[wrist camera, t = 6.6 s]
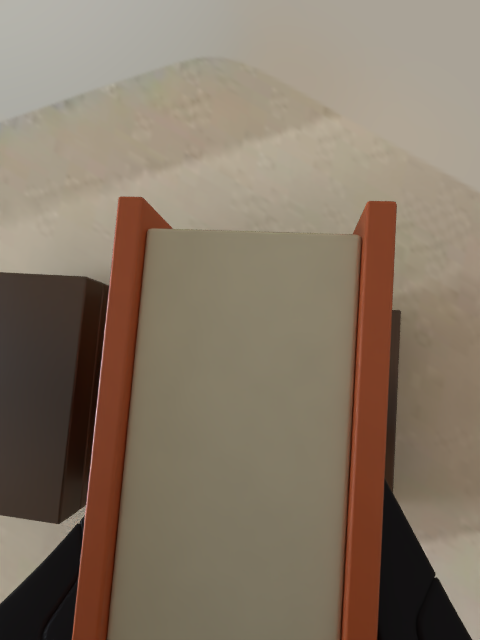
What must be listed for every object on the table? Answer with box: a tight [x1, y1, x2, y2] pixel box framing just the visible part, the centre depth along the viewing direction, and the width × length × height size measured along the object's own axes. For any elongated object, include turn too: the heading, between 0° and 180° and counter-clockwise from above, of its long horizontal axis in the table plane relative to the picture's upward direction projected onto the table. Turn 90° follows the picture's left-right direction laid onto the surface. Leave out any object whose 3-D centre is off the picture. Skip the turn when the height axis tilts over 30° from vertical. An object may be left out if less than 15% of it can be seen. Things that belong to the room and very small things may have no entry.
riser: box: [0, 272, 401, 524], centre depth 15 cm, size 8×18×6 cm, turn 86°
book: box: [72, 197, 397, 640], centre depth 9 cm, size 7×3×10 cm, turn 176°
